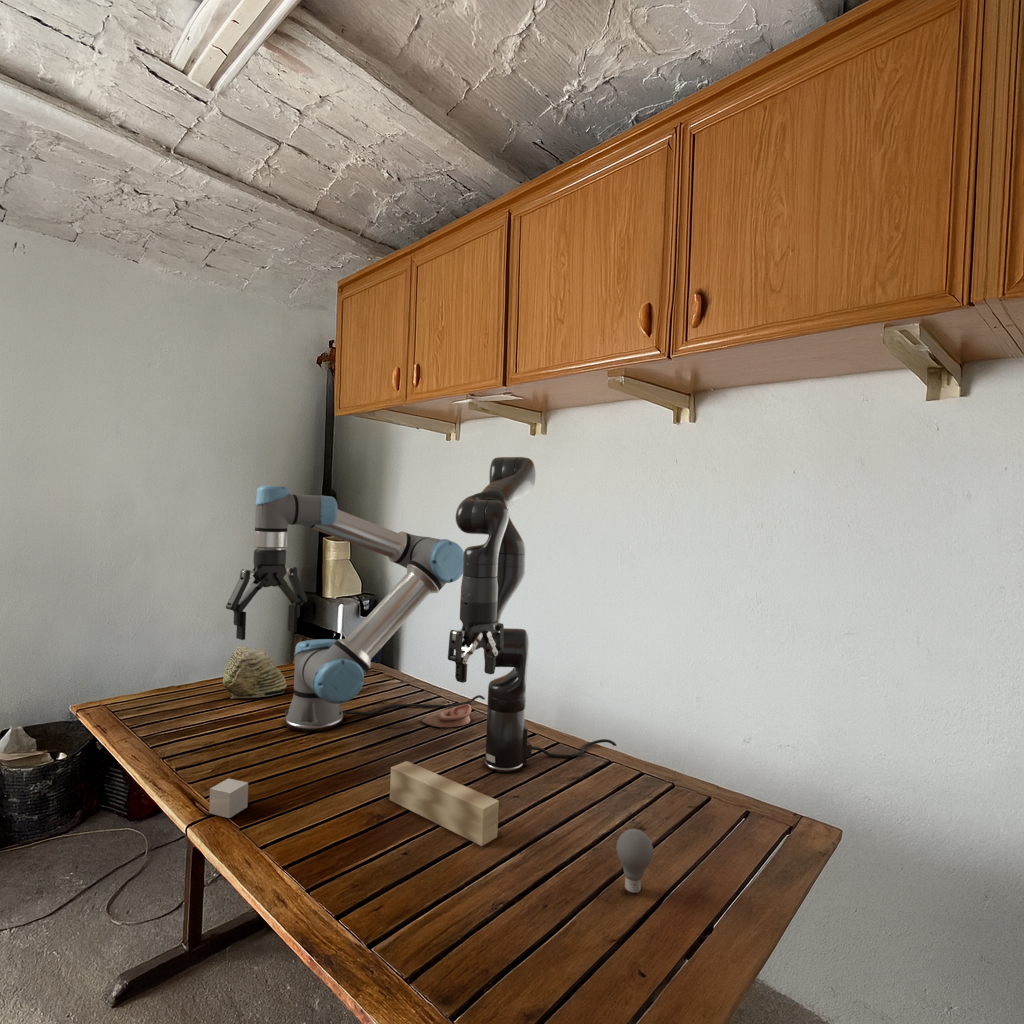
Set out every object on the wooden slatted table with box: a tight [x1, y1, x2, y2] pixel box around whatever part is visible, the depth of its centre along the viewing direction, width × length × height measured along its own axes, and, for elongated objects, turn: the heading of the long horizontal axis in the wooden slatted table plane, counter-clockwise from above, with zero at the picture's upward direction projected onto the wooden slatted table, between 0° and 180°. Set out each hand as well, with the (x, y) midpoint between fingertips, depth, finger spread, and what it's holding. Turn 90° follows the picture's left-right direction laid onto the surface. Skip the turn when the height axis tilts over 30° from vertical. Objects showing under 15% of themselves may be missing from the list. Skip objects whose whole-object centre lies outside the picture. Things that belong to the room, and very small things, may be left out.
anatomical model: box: [421, 703, 472, 728], centre depth 182 cm, size 13×4×12 cm
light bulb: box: [615, 828, 654, 894], centre depth 106 cm, size 6×6×10 cm
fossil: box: [222, 646, 288, 699], centre depth 198 cm, size 9×18×15 cm, turn 132°
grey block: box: [208, 778, 249, 819], centre depth 126 cm, size 5×5×5 cm
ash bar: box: [389, 760, 500, 847], centre depth 127 cm, size 26×4×7 cm, turn 51°
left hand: (267, 635), depth 155 cm, fingers open, 13 cm apart
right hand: (475, 677), depth 129 cm, fingers open, 8 cm apart
